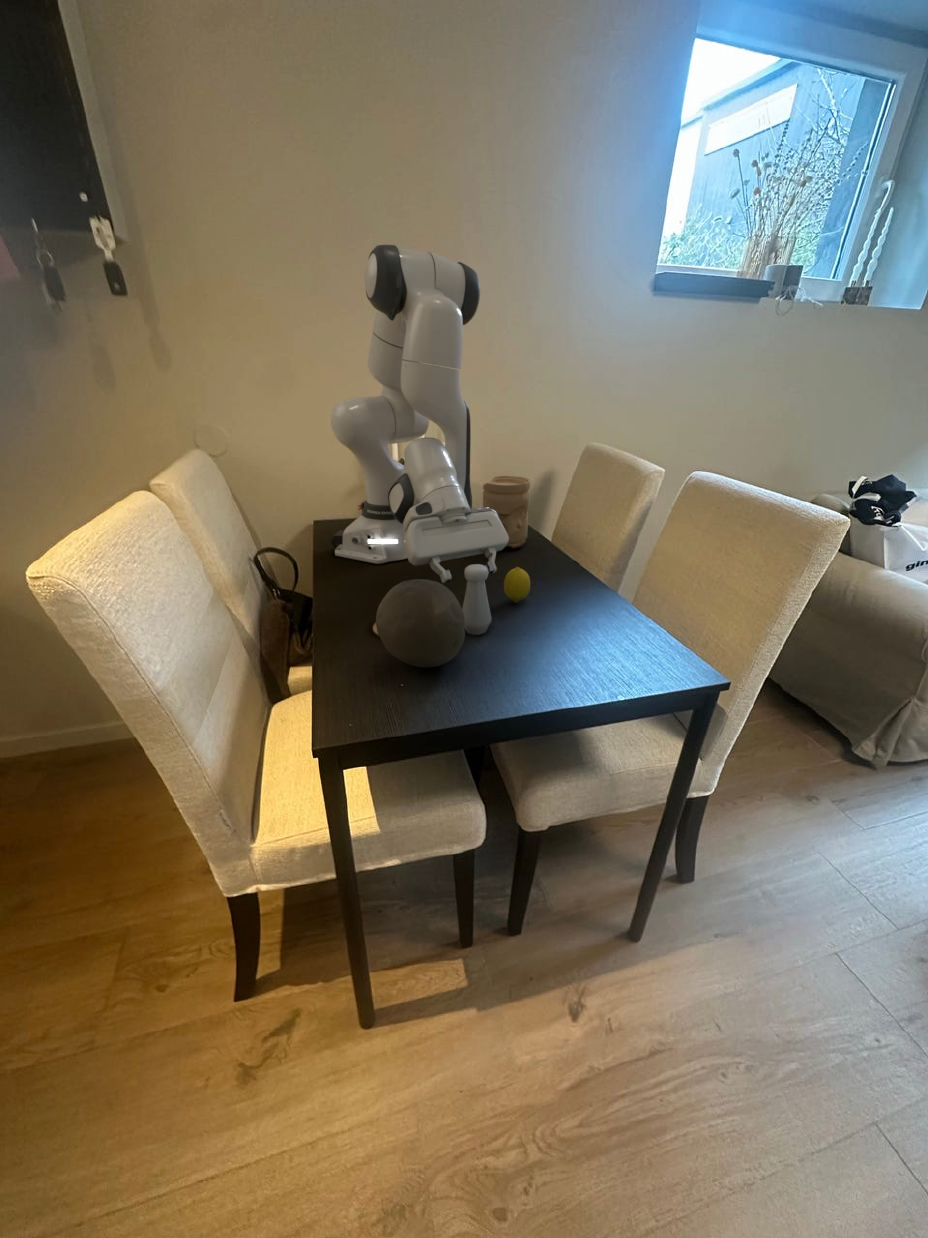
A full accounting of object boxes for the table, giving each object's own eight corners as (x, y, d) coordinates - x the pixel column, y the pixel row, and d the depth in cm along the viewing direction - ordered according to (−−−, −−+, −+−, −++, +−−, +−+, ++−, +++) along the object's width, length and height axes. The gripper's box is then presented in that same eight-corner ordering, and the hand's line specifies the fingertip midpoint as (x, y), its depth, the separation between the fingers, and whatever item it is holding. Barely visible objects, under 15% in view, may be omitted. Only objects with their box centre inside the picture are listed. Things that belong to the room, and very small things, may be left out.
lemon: (512, 610, 103) (513, 574, 100) (498, 600, 108) (499, 565, 104) (534, 604, 106) (536, 569, 102) (520, 595, 110) (521, 561, 106)
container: (478, 550, 137) (478, 483, 129) (486, 536, 148) (487, 474, 140) (523, 553, 134) (527, 486, 126) (529, 539, 145) (532, 476, 137)
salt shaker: (492, 623, 98) (493, 561, 92) (490, 637, 93) (491, 572, 87) (462, 622, 98) (462, 560, 93) (459, 636, 93) (458, 571, 87)
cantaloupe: (422, 636, 93) (418, 561, 87) (482, 661, 85) (483, 580, 79) (364, 667, 84) (355, 586, 77) (425, 699, 76) (421, 611, 69)
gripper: (488, 514, 103) (511, 574, 99) (394, 527, 94) (416, 593, 91) (499, 497, 97) (524, 560, 94) (401, 509, 89) (424, 579, 86)
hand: (470, 576), depth 92 cm, fingers open, 8 cm apart
